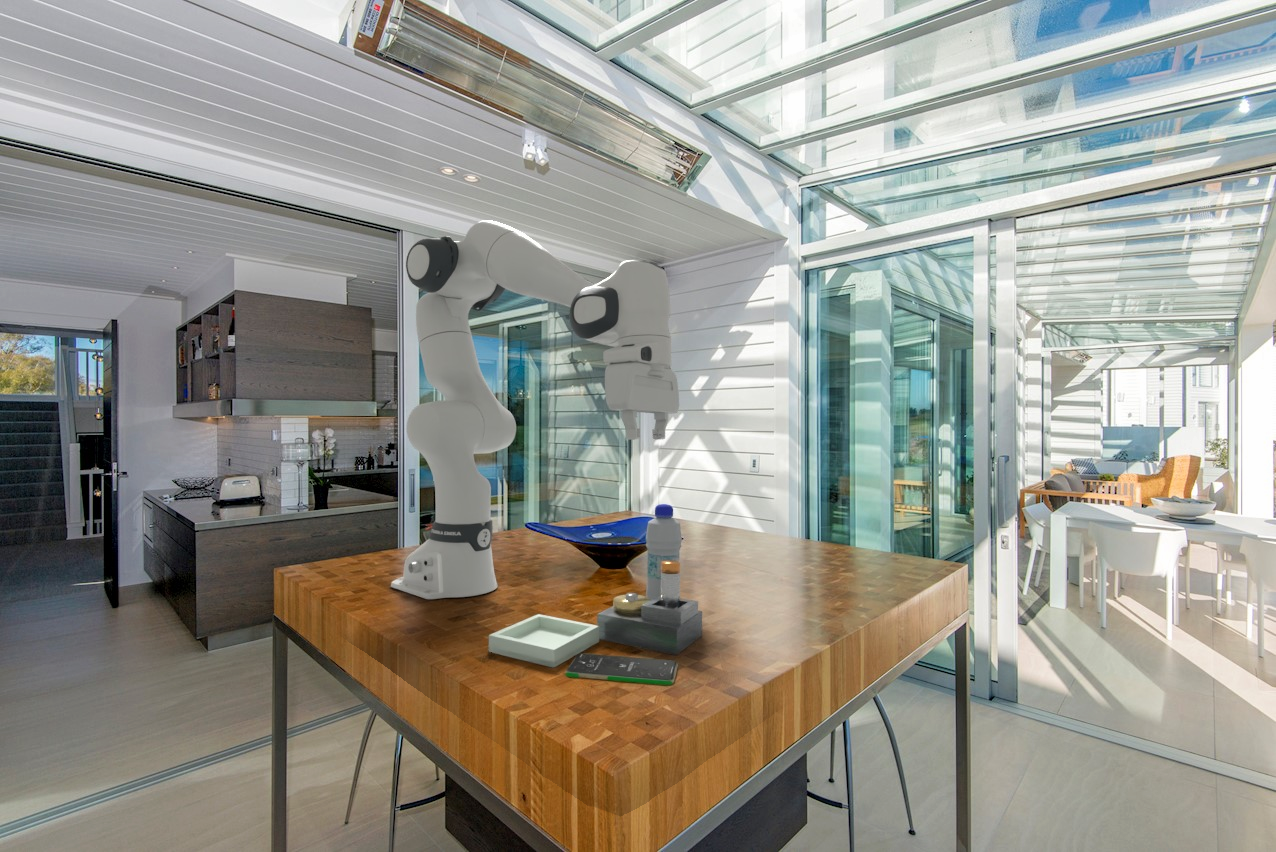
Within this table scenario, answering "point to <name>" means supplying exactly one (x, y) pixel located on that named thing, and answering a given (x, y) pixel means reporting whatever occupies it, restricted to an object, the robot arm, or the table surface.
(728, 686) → the table surface
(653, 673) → the smartphone
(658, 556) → the bottle
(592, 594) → the table surface
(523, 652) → the tray
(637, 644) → the grey stepped block
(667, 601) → the lock pin
